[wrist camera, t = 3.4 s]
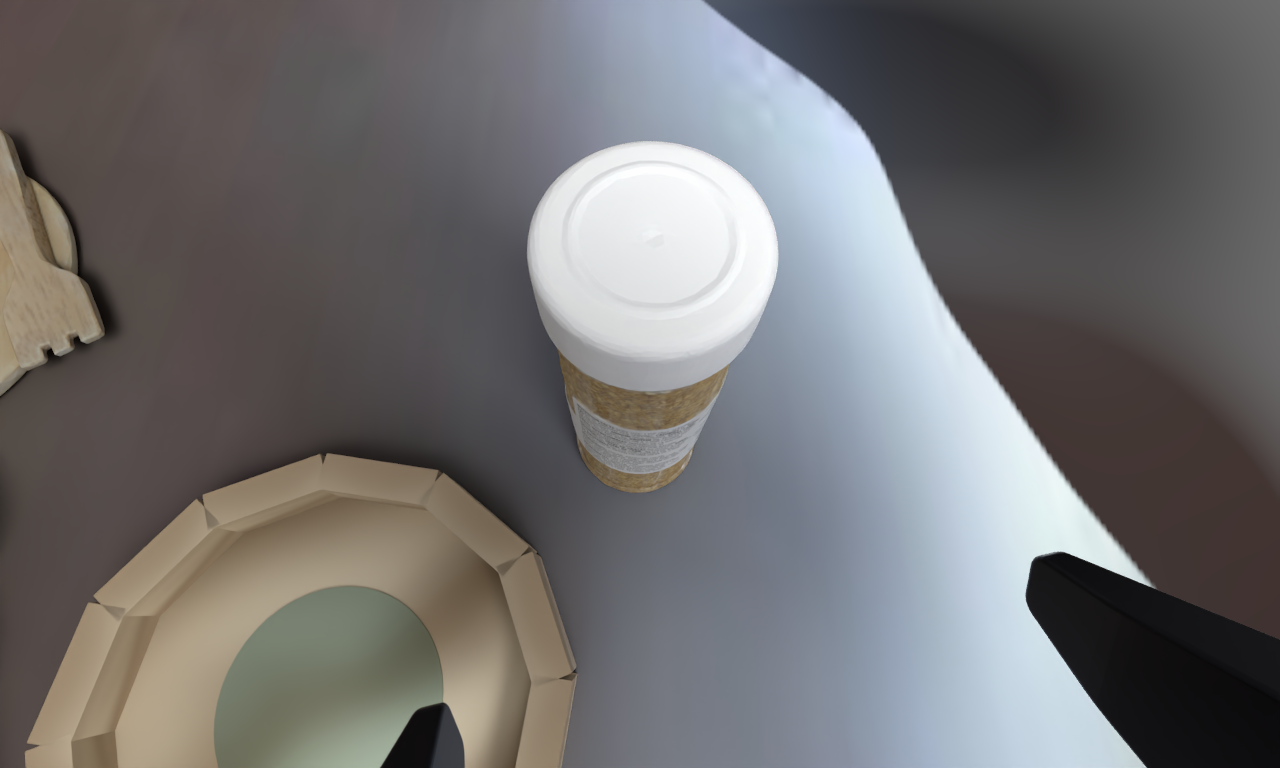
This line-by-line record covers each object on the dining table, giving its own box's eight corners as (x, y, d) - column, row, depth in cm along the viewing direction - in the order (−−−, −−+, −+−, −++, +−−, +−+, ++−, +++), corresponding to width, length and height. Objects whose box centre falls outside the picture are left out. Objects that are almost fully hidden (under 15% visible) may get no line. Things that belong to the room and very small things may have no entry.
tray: (662, 659, 21) (666, 664, 18) (317, 1142, 16) (273, 1220, 14) (354, 394, 23) (328, 374, 21) (-7, 744, 19) (-83, 761, 17)
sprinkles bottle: (606, 364, 24) (590, 98, 12) (713, 407, 24) (818, 179, 11) (556, 468, 23) (474, 293, 10) (669, 517, 22) (732, 396, 10)
